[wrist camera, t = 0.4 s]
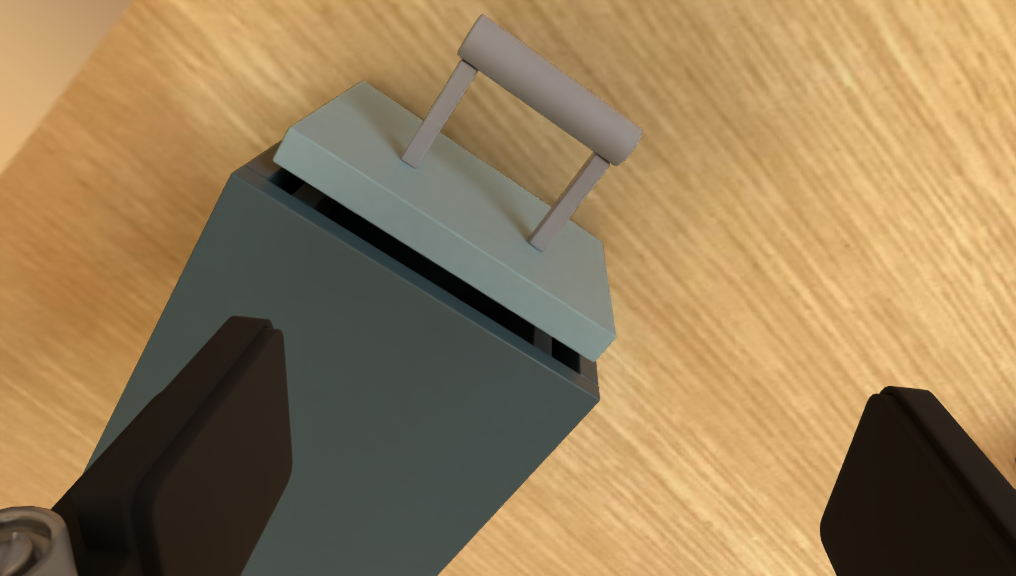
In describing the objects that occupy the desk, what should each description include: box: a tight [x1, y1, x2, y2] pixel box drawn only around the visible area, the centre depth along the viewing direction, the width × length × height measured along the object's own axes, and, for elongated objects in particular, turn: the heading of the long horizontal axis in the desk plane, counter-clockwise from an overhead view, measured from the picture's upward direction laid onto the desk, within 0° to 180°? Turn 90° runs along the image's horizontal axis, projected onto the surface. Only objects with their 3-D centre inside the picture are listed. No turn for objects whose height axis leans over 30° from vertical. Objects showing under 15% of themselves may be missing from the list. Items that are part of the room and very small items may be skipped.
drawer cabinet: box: [82, 139, 600, 576], centre depth 27 cm, size 15×13×10 cm
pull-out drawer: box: [273, 14, 642, 362], centre depth 25 cm, size 19×11×8 cm, turn 146°
